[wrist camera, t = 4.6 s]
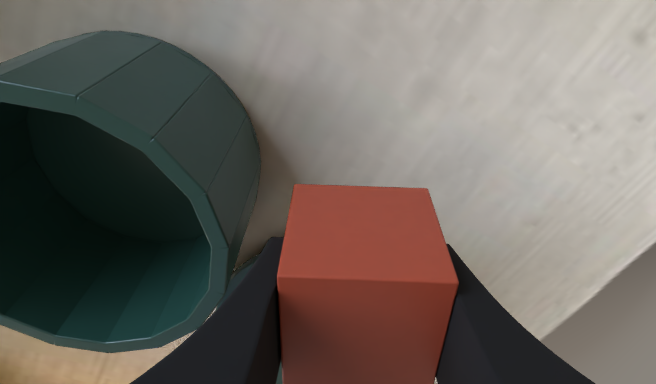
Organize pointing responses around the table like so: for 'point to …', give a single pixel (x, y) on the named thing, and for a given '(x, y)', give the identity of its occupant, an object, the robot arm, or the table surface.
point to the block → (363, 286)
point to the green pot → (119, 191)
